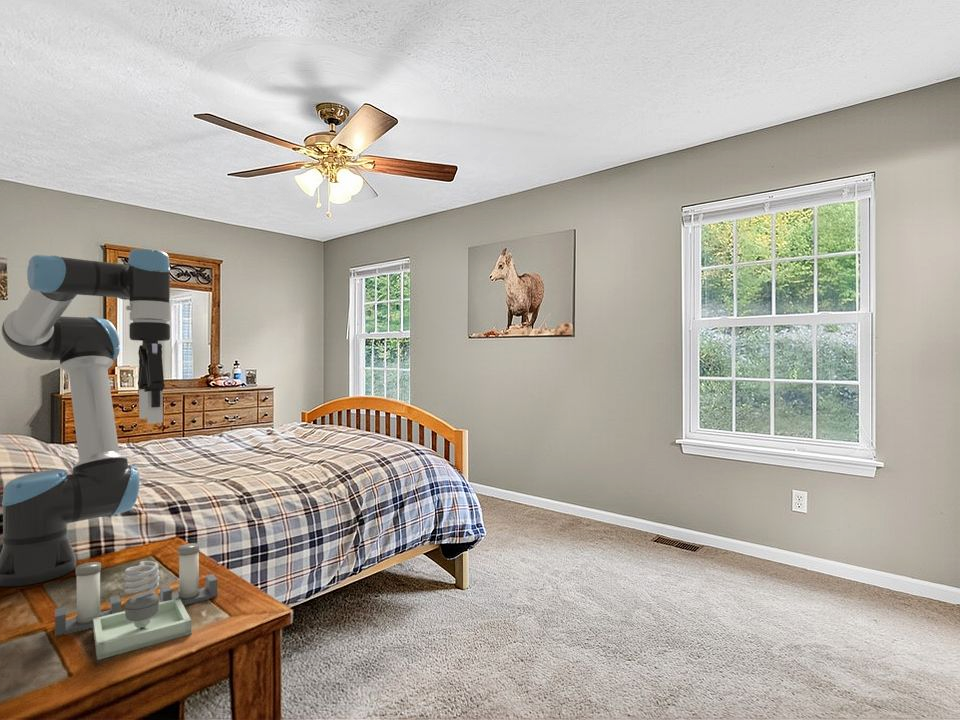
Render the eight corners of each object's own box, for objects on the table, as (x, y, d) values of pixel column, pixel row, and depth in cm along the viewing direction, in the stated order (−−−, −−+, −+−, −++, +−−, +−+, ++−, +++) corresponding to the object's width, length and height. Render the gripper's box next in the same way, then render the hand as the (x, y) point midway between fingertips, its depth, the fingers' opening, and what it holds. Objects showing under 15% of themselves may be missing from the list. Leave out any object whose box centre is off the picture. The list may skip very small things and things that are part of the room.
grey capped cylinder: (176, 594, 114) (176, 545, 114) (197, 589, 117) (197, 542, 117) (180, 601, 111) (179, 550, 111) (201, 596, 113) (201, 546, 114)
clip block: (55, 626, 102) (55, 608, 102) (212, 589, 119) (212, 573, 119) (55, 637, 98) (55, 617, 98) (218, 596, 115) (217, 580, 115)
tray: (93, 632, 100) (93, 618, 100) (179, 610, 109) (179, 597, 109) (97, 660, 91) (97, 645, 91) (191, 633, 99) (191, 620, 99)
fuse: (75, 618, 104) (75, 565, 104) (100, 612, 106) (100, 560, 106) (76, 626, 101) (75, 571, 101) (101, 620, 103) (101, 566, 103)
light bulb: (143, 637, 97) (142, 568, 97) (116, 634, 98) (115, 566, 98) (167, 622, 102) (166, 557, 102) (141, 619, 103) (140, 555, 103)
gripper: (123, 324, 126) (124, 417, 126) (136, 317, 106) (137, 427, 106) (161, 326, 131) (161, 415, 131) (179, 319, 111) (180, 424, 111)
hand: (150, 420), depth 118 cm, fingers open, 13 cm apart
